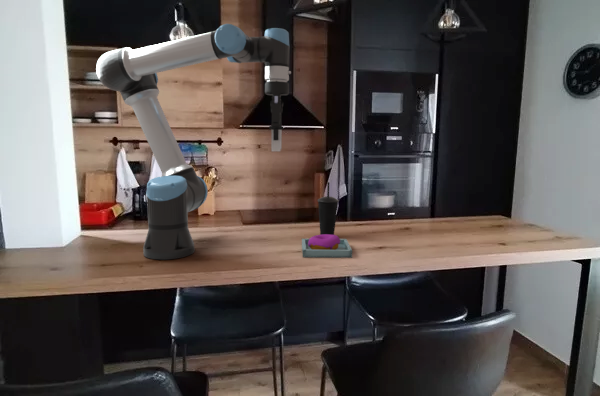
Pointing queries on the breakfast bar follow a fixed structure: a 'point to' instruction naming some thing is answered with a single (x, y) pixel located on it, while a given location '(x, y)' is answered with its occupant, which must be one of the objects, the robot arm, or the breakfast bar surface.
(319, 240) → the donut
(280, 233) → the breakfast bar surface
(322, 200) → the drinking cup
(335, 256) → the tray
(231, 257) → the breakfast bar surface
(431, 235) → the breakfast bar surface
